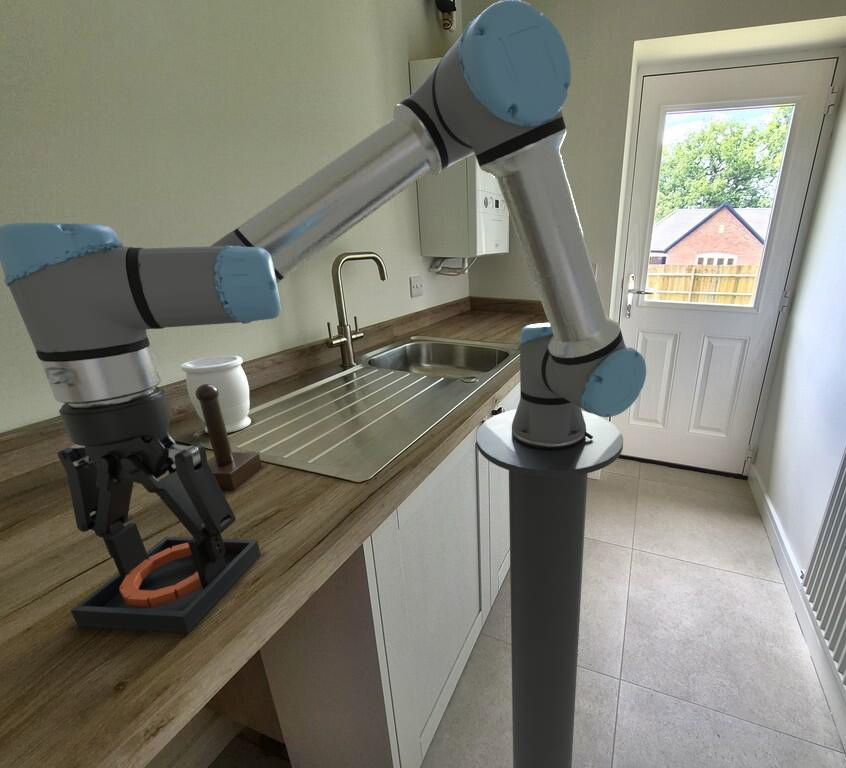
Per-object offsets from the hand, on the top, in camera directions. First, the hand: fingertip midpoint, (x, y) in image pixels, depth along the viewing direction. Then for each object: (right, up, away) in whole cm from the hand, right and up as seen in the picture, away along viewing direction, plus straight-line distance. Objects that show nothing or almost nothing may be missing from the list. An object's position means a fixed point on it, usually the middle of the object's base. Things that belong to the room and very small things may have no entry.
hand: (177, 579), depth 47 cm
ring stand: (-10, +6, +23) cm, 26 cm away
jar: (-24, +13, +43) cm, 51 cm away
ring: (0, +1, 0) cm, 1 cm away
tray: (0, -1, 0) cm, 1 cm away
